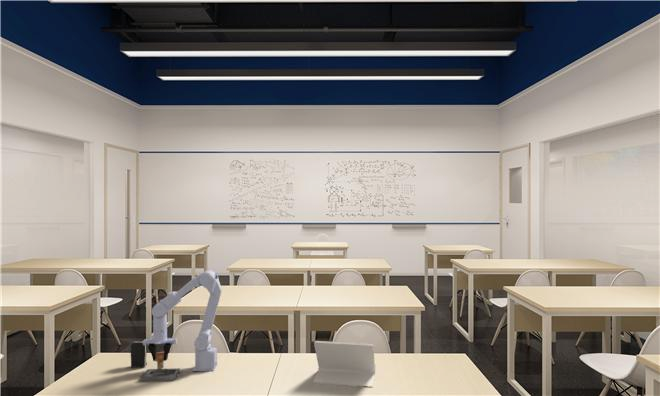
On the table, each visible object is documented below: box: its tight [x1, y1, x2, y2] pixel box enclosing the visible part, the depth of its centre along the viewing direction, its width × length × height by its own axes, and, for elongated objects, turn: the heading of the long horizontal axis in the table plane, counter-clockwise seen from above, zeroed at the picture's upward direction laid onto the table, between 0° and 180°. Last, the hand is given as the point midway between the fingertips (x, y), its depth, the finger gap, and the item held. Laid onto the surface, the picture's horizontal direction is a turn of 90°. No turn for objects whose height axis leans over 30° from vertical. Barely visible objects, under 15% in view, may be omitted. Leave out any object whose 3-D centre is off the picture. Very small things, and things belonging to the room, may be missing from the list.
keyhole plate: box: [139, 367, 181, 383], centre depth 179 cm, size 14×8×2 cm, turn 93°
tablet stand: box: [313, 340, 377, 388], centre depth 180 cm, size 18×25×17 cm
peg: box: [154, 351, 165, 369], centre depth 187 cm, size 4×4×6 cm
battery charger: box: [130, 340, 149, 368], centre depth 192 cm, size 7×4×11 cm, turn 85°
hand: (160, 360), depth 187 cm, fingers closed on peg, 4 cm apart
